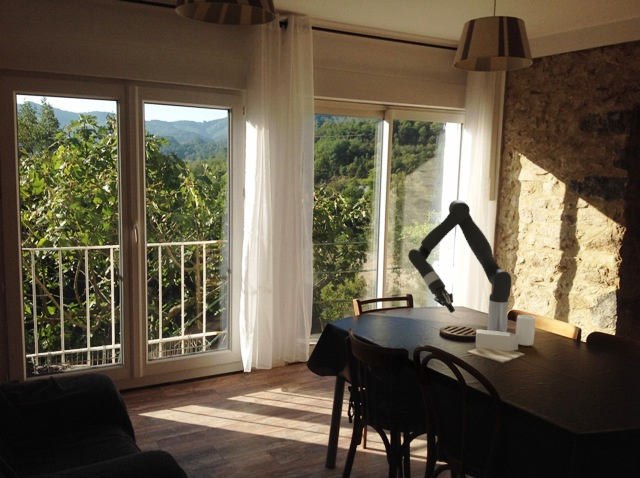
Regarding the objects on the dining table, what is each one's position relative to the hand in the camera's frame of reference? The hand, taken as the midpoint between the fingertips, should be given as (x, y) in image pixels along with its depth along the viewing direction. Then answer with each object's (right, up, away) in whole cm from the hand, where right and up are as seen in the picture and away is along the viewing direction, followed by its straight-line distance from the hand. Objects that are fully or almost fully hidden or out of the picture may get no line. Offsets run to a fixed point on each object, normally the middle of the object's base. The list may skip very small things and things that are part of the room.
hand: (453, 311), depth 272 cm
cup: (+34, -16, -1) cm, 38 cm away
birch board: (+16, -17, -15) cm, 28 cm away
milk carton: (+9, -12, -6) cm, 16 cm away
